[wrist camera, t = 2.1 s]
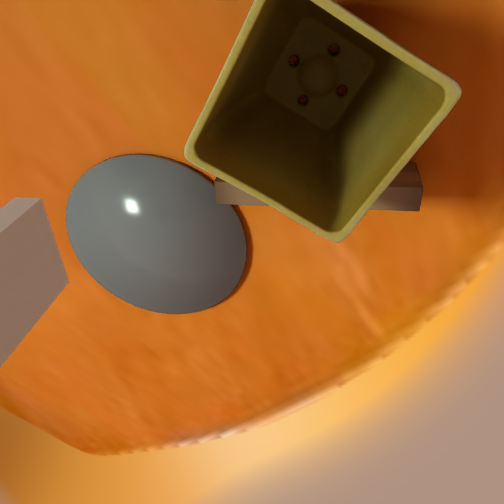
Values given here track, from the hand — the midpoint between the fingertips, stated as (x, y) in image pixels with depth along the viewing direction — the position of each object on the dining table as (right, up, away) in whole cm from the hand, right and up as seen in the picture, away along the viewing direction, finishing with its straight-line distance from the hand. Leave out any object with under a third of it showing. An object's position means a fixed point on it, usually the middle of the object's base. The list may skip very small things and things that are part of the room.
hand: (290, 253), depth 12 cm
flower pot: (+3, +10, +16) cm, 19 cm away
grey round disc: (-8, +1, +24) cm, 25 cm away
